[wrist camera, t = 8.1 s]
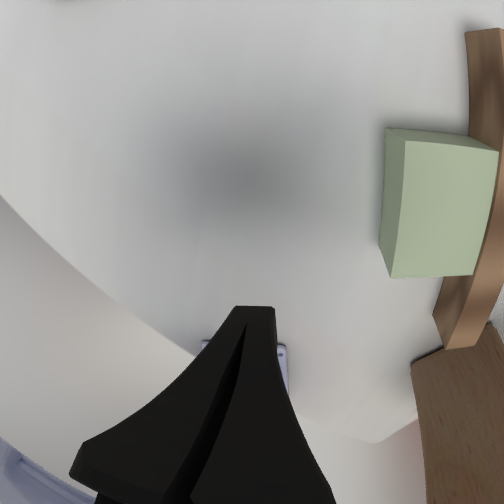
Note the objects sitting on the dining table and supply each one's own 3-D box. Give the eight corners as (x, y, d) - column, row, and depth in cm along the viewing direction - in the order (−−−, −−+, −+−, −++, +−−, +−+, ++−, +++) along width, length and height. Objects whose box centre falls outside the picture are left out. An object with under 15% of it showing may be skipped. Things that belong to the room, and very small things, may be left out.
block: (406, 361, 25) (423, 555, 9) (491, 316, 21) (549, 504, 4) (427, 397, 29) (441, 543, 12) (496, 362, 24) (531, 507, 7)
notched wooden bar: (460, 312, 21) (474, 345, 18) (432, 314, 22) (445, 350, 18) (499, 43, 10) (535, 43, 6) (464, 32, 10) (499, 27, 7)
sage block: (450, 242, 18) (472, 275, 15) (377, 243, 19) (390, 278, 16) (466, 135, 14) (499, 151, 11) (384, 127, 15) (405, 140, 12)
